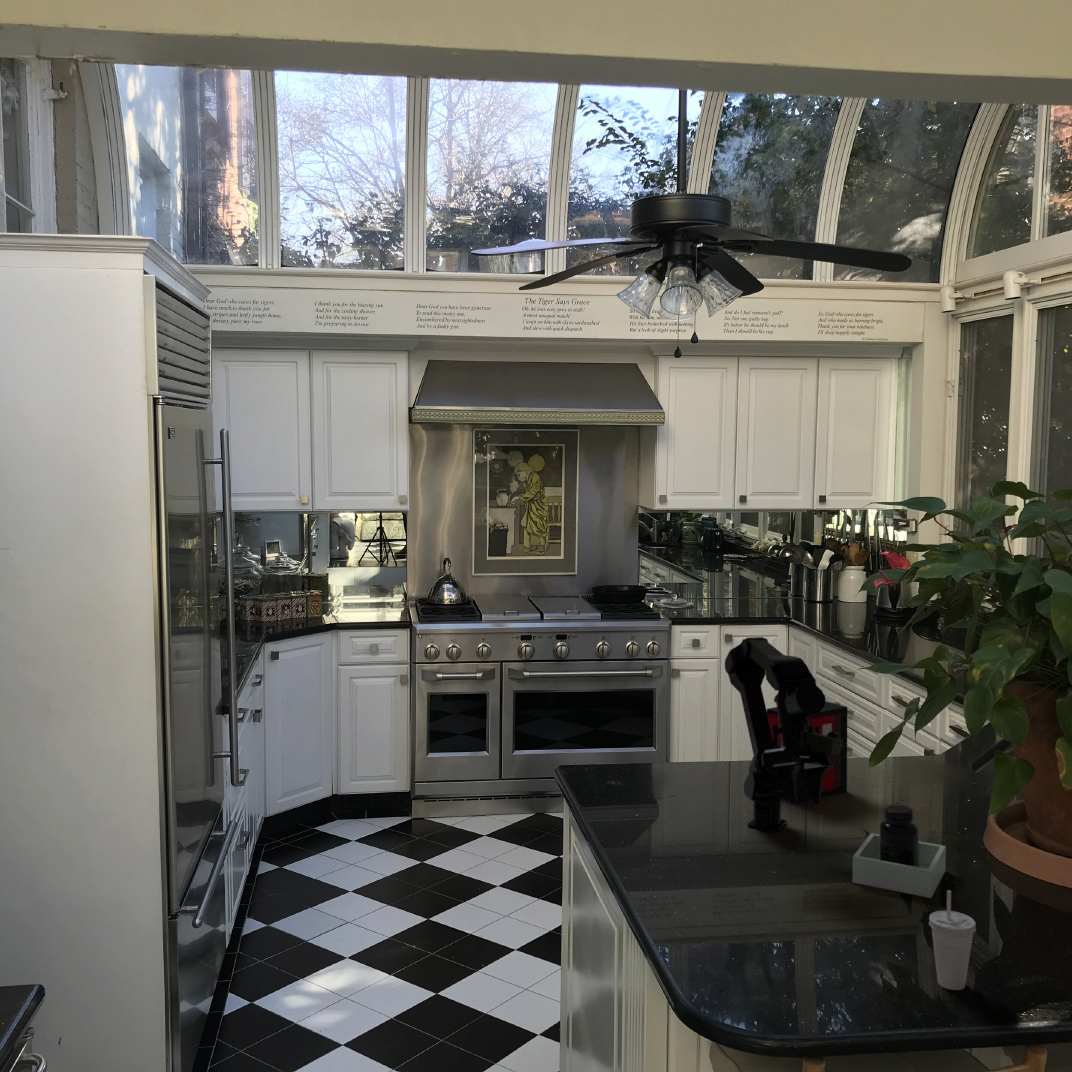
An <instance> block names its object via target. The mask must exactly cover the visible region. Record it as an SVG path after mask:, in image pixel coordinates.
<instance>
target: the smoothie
mask: <svg viewBox="0 0 1072 1072" xmlns="http://www.w3.org/2000/svg"><path fill="white" fill-rule="evenodd" d="M928 918H929V921H928V925H929V926H930V927H931V935H932V944H933V950H934V951H933V952H934V959H935V961H934V962H935V967H936V979H937V983H938V985H939V986H941V987H942V988H944V989H947V990H952V991H960V990H963V989H965V987H966V983H967V975H968V969H969V963H970V962H969V961H970V956H971V949H972V944H973V943H972V942H973V938H974V937H973V936H974V934H975V933H976V931H977V927H976V920H974V919H973V918H972V917H970V916H969V915H967V914H964V913H961V912H959V911H953V910H952V891H951V890H949V889H948V890H947V889H946V910H937V911H934V912H931V913H930V914H929V917H928Z"/></svg>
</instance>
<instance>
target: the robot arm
mask: <svg viewBox="0 0 1072 1072" xmlns="http://www.w3.org/2000/svg"><path fill="white" fill-rule="evenodd" d="M724 669H725V672H726V673H727V675H728V678H729V683H730V684H731V685H732V686H733V687H734V688H735V690H737V691H738V692H739V694H740V699H741V703H742V706H743V713H744V717H745V722H746V726H747V730H748V734H749V740H750V745H751V748H752V755H753V756H752V759H751V761H750V765H749V766H748V774H747V776H746V779H745V781H744V782H743V791H744V795H745V796H746V797H747V798H748V799H749V800H750V801H752V806H753V807H752V809H753V810H752V814H753V816H752V817H753V818H752V819H751V820H750V821H749V822H748V823H747V827H749V828H756V829H761V830H765V831H771V832H778V831H779V830H780V829H781V828H783V827H784V826H785V825H786V824H787V820H786V819H782V799H781V798H787V799H788V800H789V802H790V803H789V802H788V803H789V804H790V805H794V804H795V805H797V804H796V803H797V788H796V773H797V772H798V770H799V768H800V767H801V768H805V769H800V773H801V775H802V778H803V780H804V782H805V785H806V787H807V790H808V792H809V794H810V797H811V799H812V800H811V801H812V803H813V804H814V805H820V804H821V799H822V798H821V793H822V786H823V780H824V776H825V775H826V773H827V772H828V771H829V770H830V769H832V766H830V765H836V764H835V757H834V755H837V756H839V752H840V749H841V748H843V747H844V744H843V739H842V738H841V734H840V733H836V732H829V733H828V734H827V736H826V735H821V734H817V733H816V729H815V727H814V726H810V725H809V718H808V717H809V716H811V715H814V714H816V713H818V712H820V711H821V710H822V709H823V708H824V706H825V701H826V695H825V694H824V692H823V691H822V689H821V688H820V687H819V686H817V683H816V681H817V680H816V678H815V677H814V675H813V674H812V673H811V672H812V671H810V669H809V667H808V665H807V664H806V662H805V661H804V660H803V659H802V658H800V657H798V656H794V655H785V654H784V653H782V652H781V651H779V650H778V648H776V647H774V645H772V644H771V643H769V641H768V639H767V638H765V637H764V636H761V637H760V636H758V637H756V636H753V637H746V638H743V639H742V640H741V642H740V644H738V645H736V646H735V647H733V648H732V649H730V650H729V652H728V653H727V655H726V657H725V659H724ZM764 678H765V679H764ZM764 680H766V681H767V683H768V684H769V685H770V686H771V688H773V689H774V691H775V692H776V691H777V694H776V695H775V696H774V699H773V701H774V702H773V703H776V704H775V705H776V707H777V712H778V719H779V727H780V728H776V734H781V741H782V748H778V749H775V745H774V741H773V737H772V732H771V728H770V724H769V719H768V715H767V707H766V703H765V702H766V701H765V698H764V694H763V689H762V684H763V682H764ZM833 754H834V755H833ZM796 763H799V764H796Z"/></svg>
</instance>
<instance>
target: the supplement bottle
mask: <svg viewBox="0 0 1072 1072" xmlns="http://www.w3.org/2000/svg"><path fill="white" fill-rule="evenodd" d="M913 813H914V810H913V809H912V808H911V807H909V806H907V805H902V804H890V805H887V806H885V808H884V818H885V820H883V821H881V823H880V825H879V835H880V860H882V861H887V862H893V863H898V864H903V865H909V866H914V867H919V842H920V837H919V836H920V835H919V834H920V832H919V828H918V827H919V826H918V825H916V824H915V823H914V822H913V821H914V814H913Z"/></svg>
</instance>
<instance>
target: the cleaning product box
mask: <svg viewBox="0 0 1072 1072" xmlns="http://www.w3.org/2000/svg"><path fill="white" fill-rule="evenodd" d="M766 710H767V715H768V719H769V724H770V728H771V732H772V737H773V741H774V745H775V749H778V748H782V741H781V734H776V728H780V727H779V719H778V712H777V706H775V707H770V708H769V707H768V708H766ZM808 718H809V725H810V726H814V727H815V729H816V733H817V734H821V735H826V736H827V734H828V733H829V732H836V733H840V734H841V738H842V739H843V744H844V747H843V748H841V749H840V752H839V756H837V755H834V754H833V755H834V757H835V764H836V765H830V766H832V769H830V770H829V771H828V772H827V773H826V775H825V776H824V780H823V786H822V793H821V799H824V798H827V797H831V796H835V795H840V794H843V793H847V792H848V706H845V705H841V704H837V703H833V702H829V701H827V700H825V706H824V708H823V709H822V710H821V711H820V712H818V713H816V714H814V715H811V716H809V717H808ZM796 764H799V763H796ZM800 769H805V768H801V767H800V768H799V770H798V772H797V773H796V788H797V803H796V804H795V805H798V804H802V803H807V802H810V801H812V799H811V797H810V794H809V792H808V790H807V787H806V785H805V782H804V780H803V778H802V775H801V773H800ZM782 799H783V800H782ZM781 800H782V801H784V800H785V801H784V802H787V801H788V802H787V803H789V800H788V799H787V798H781Z"/></svg>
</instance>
